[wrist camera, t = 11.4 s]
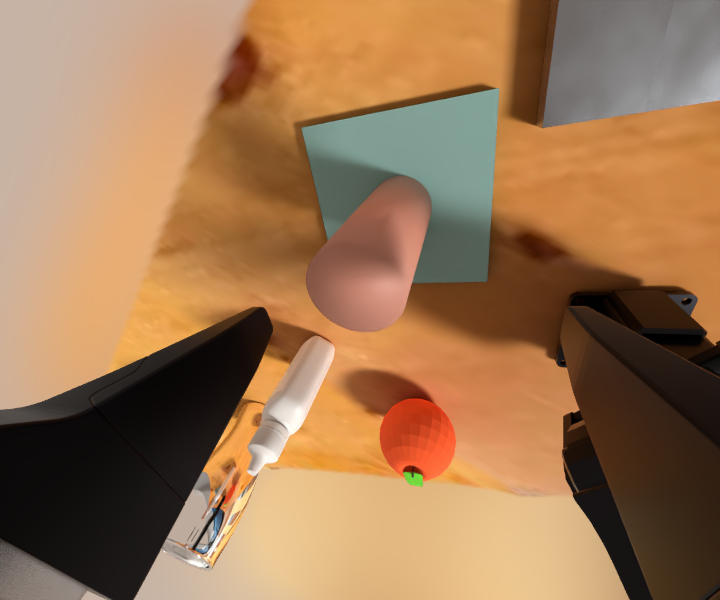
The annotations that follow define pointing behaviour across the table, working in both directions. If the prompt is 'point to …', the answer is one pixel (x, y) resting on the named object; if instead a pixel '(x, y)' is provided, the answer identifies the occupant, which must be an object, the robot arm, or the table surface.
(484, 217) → the rubber mat
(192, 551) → the beer glass
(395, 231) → the pink rounded cylinder
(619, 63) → the grey square hole plate
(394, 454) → the clementine
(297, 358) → the eye dropper bottle
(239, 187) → the table surface
